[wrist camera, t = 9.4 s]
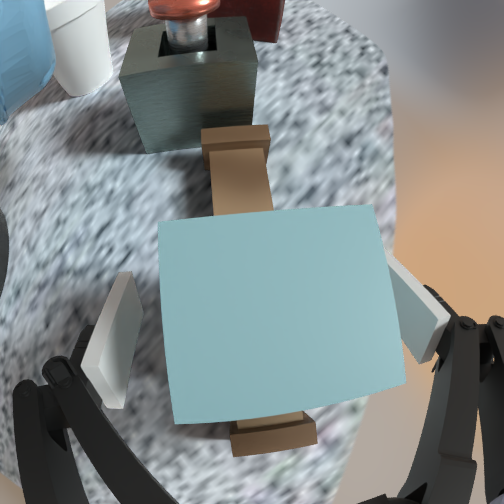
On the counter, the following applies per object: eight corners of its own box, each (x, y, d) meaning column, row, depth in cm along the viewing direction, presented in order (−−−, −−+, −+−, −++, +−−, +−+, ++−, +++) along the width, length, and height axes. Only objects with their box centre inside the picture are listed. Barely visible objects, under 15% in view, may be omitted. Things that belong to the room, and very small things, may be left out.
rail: (304, 429, 18) (317, 443, 15) (233, 439, 18) (233, 456, 14) (263, 151, 24) (267, 124, 21) (204, 155, 24) (200, 129, 21)
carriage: (311, 365, 19) (406, 382, 8) (209, 378, 19) (174, 424, 7) (299, 281, 21) (371, 204, 10) (199, 291, 20) (158, 222, 9)
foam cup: (46, 90, 27) (9, 17, 14) (103, 50, 29) (81, -26, 17) (73, 117, 25) (26, 26, 13) (139, 69, 27) (117, -25, 15)
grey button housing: (250, 142, 25) (258, 60, 16) (146, 153, 24) (118, 77, 15) (241, 90, 27) (245, 16, 18) (152, 100, 26) (134, 28, 17)
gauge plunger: (167, 89, 18) (153, 13, 12) (156, 58, 19) (144, -7, 13) (229, 73, 19) (230, -2, 13) (210, 44, 20) (208, -20, 14)
